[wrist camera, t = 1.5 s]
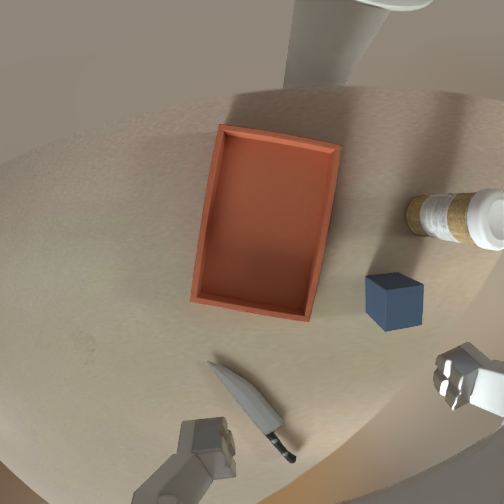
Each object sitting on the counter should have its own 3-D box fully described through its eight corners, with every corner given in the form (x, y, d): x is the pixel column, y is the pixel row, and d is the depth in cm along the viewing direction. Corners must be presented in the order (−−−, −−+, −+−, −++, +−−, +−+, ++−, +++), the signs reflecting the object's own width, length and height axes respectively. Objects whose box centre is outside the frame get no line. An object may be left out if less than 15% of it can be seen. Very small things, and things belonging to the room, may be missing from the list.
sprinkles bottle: (444, 211, 30) (525, 213, 16) (425, 244, 30) (504, 263, 17) (416, 186, 30) (494, 175, 16) (397, 220, 30) (472, 227, 17)
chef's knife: (229, 347, 33) (207, 360, 33) (228, 351, 32) (205, 364, 32) (309, 452, 34) (290, 461, 34) (311, 457, 33) (291, 466, 33)
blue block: (365, 276, 31) (385, 289, 25) (398, 272, 31) (424, 284, 25) (365, 312, 31) (384, 331, 26) (398, 307, 31) (421, 325, 25)
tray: (222, 130, 30) (218, 123, 27) (335, 150, 30) (341, 145, 27) (195, 295, 32) (189, 301, 29) (305, 314, 32) (309, 322, 29)
